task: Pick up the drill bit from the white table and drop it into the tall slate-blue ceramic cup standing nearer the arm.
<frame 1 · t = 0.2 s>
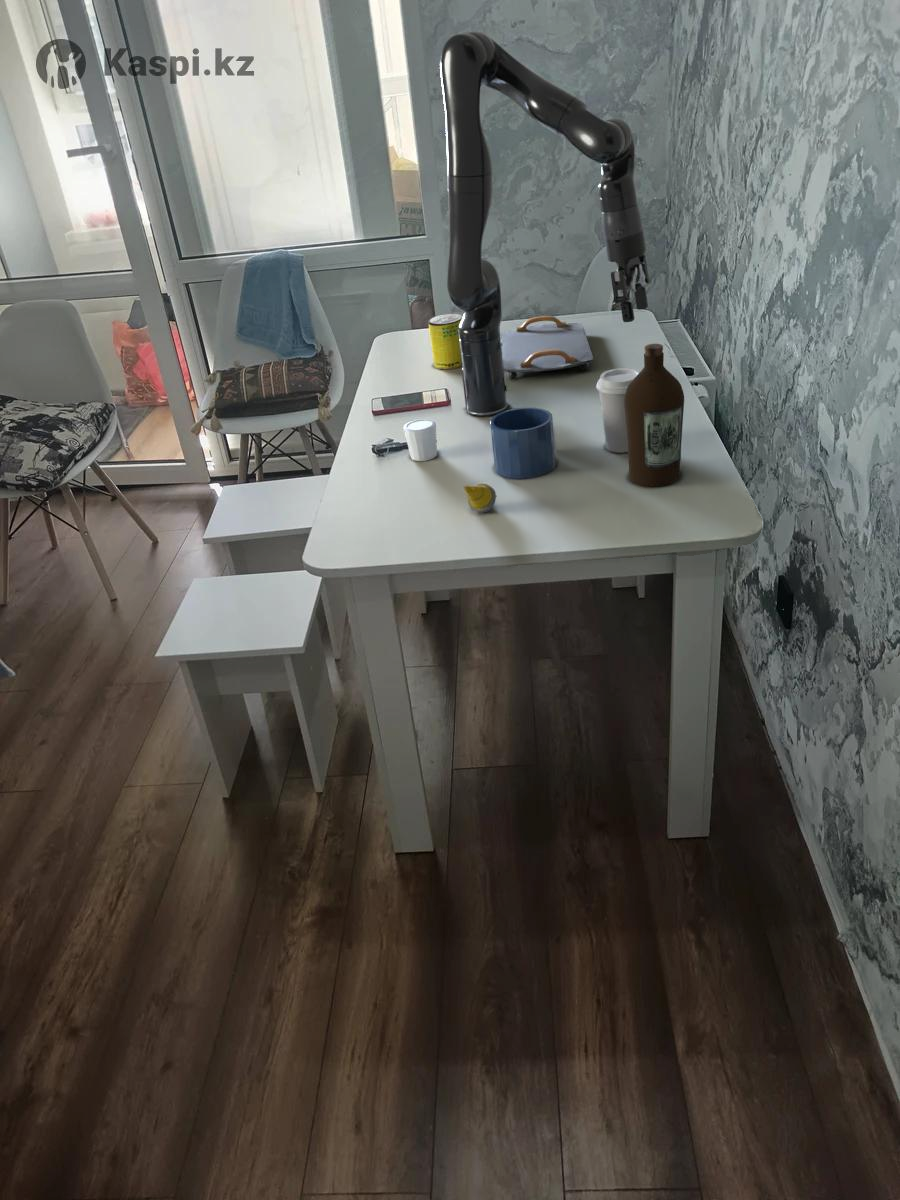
hand: (635, 315, 185), 22 cm above the table, tool pointing down, fingers open, 8 cm apart
cup: (525, 465, 184), on the table
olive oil: (654, 477, 172), on the table
drill bit: (482, 512, 169), on the table
serving tray: (545, 356, 241), on the table
white cylinder: (424, 456, 195), on the table
coffee cup: (622, 447, 186), on the table
yellow can: (450, 364, 246), on the table
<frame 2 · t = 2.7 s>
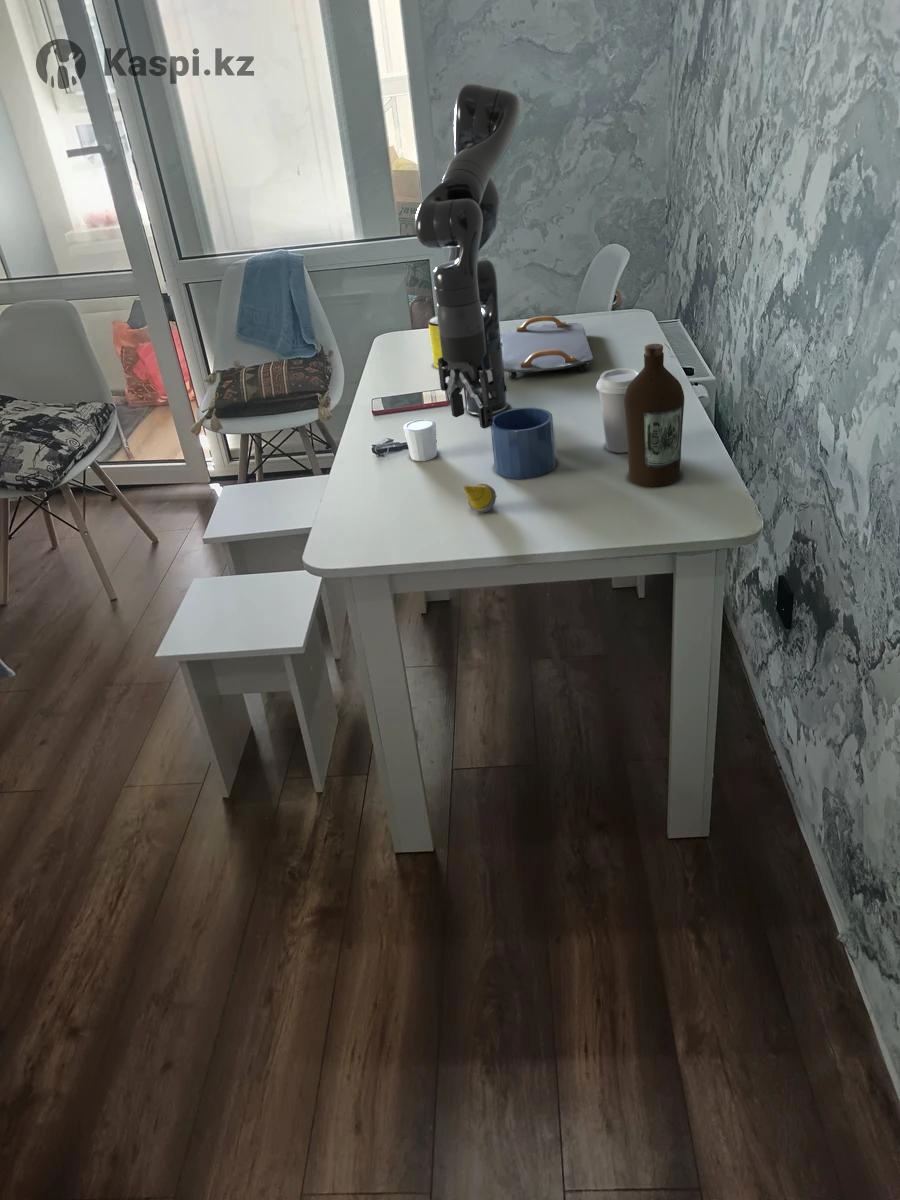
hand: (472, 421, 159), 18 cm above the table, tool pointing down, fingers open, 8 cm apart
nothing on the table moved.
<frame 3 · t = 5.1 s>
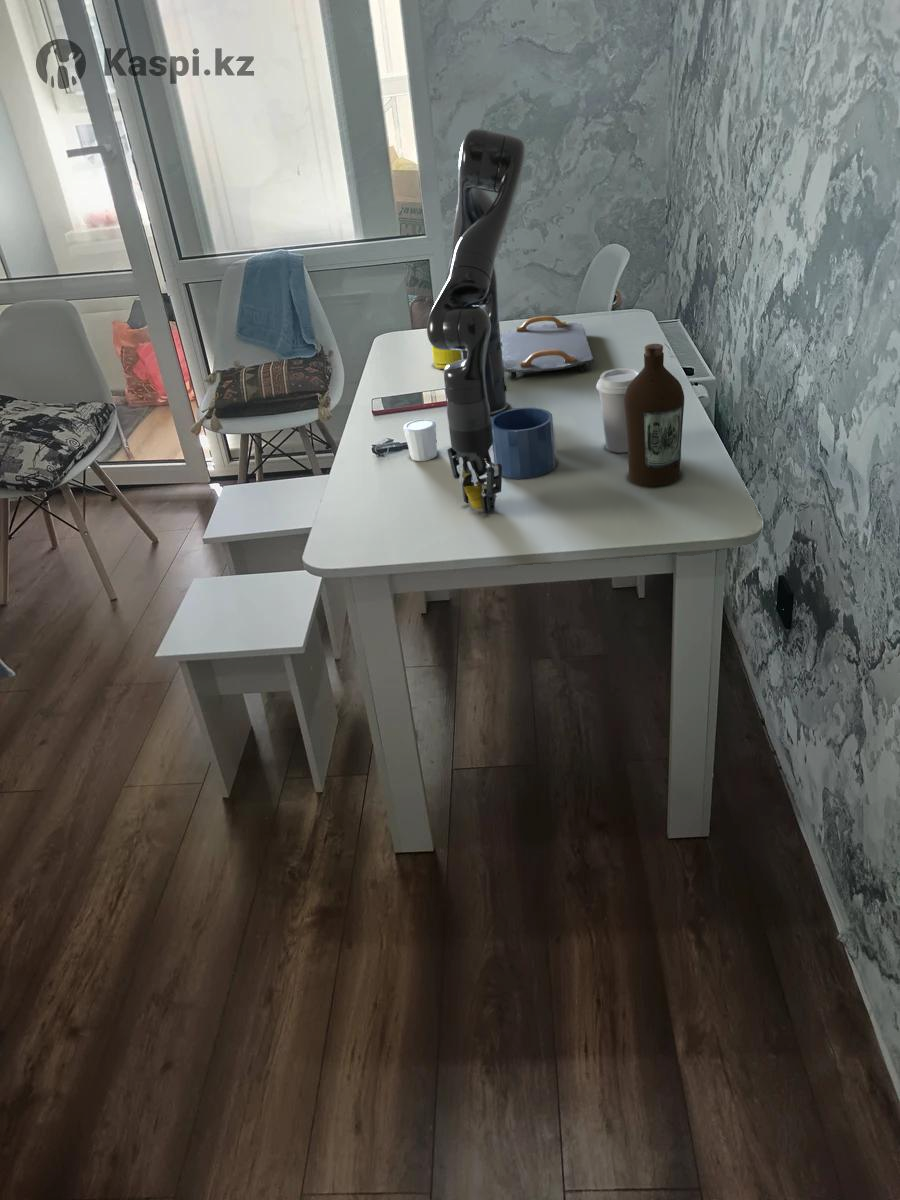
hand: (479, 506, 169), 1 cm above the table, tool pointing down, fingers closed on drill bit, 5 cm apart
drill bit: (482, 512, 169), on the table, touching gripper
everything else where it was.
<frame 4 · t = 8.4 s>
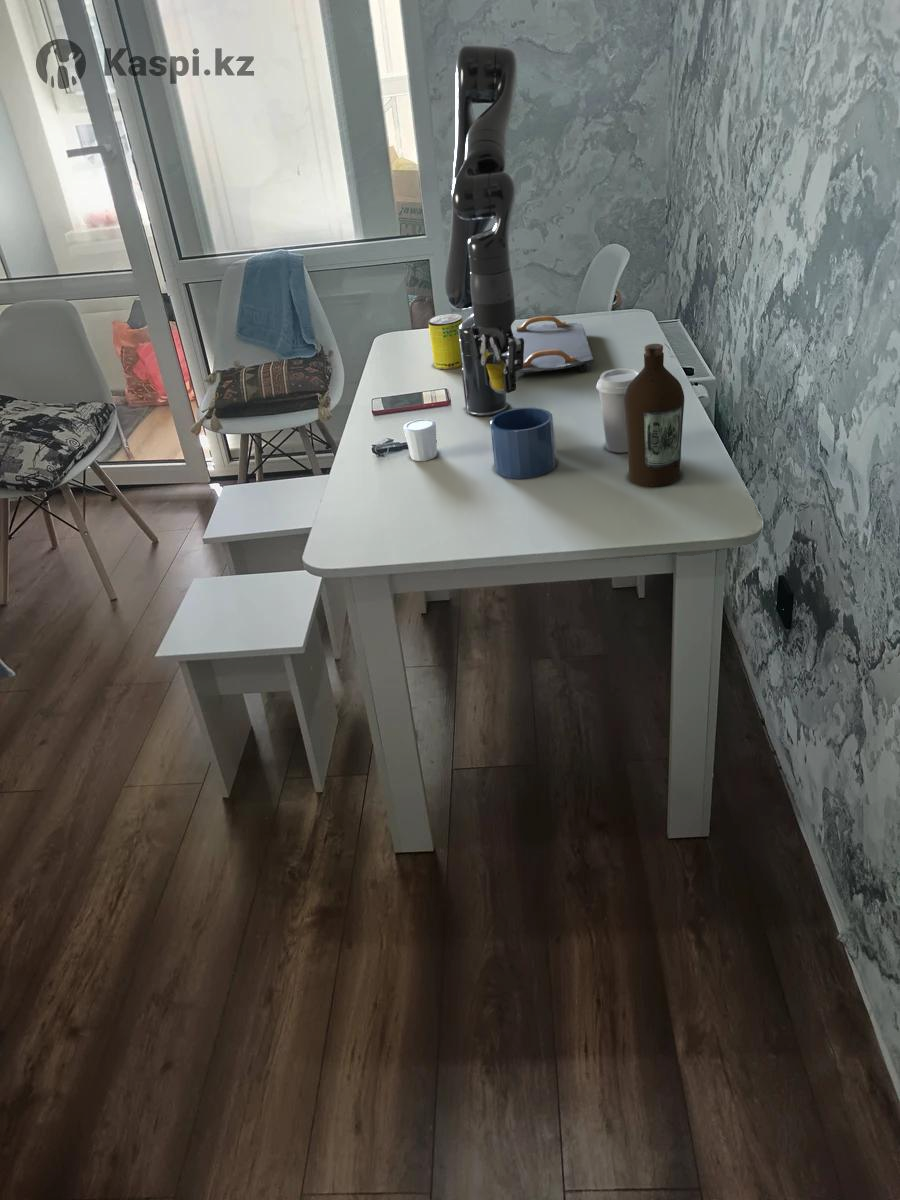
hand: (500, 387, 170), 19 cm above the table, tool pointing down, fingers closed on drill bit, 5 cm apart
drill bit: (503, 393, 170), point 18 cm above the table, touching gripper
everything else where it was.
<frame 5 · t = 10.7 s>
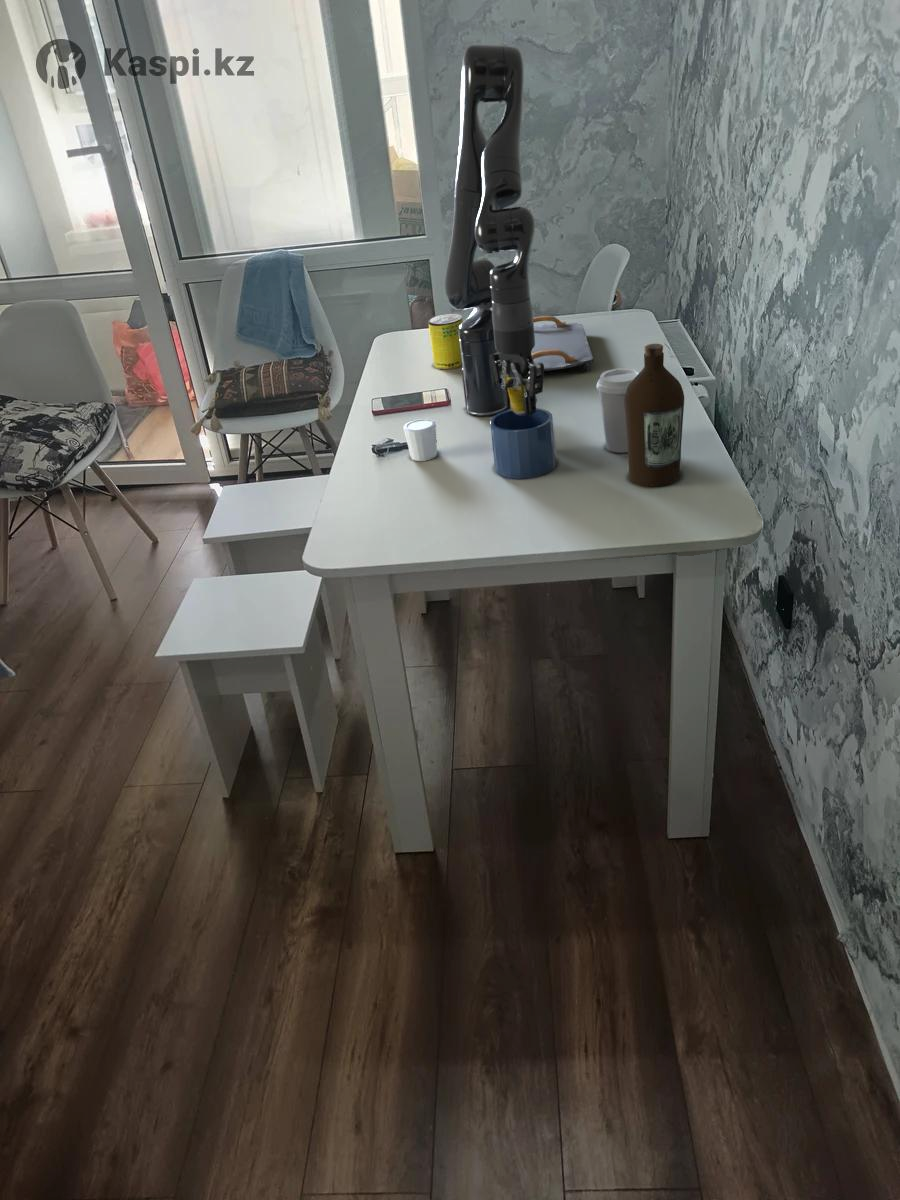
hand: (520, 409, 178), 12 cm above the table, tool pointing down, fingers closed on drill bit, 5 cm apart
drill bit: (523, 416, 178), point 11 cm above the table, touching gripper
everything else where it was.
when the fingers open (8 cm above the table, at t = 12.2 s): drill bit drops 7 cm, resting on cup.
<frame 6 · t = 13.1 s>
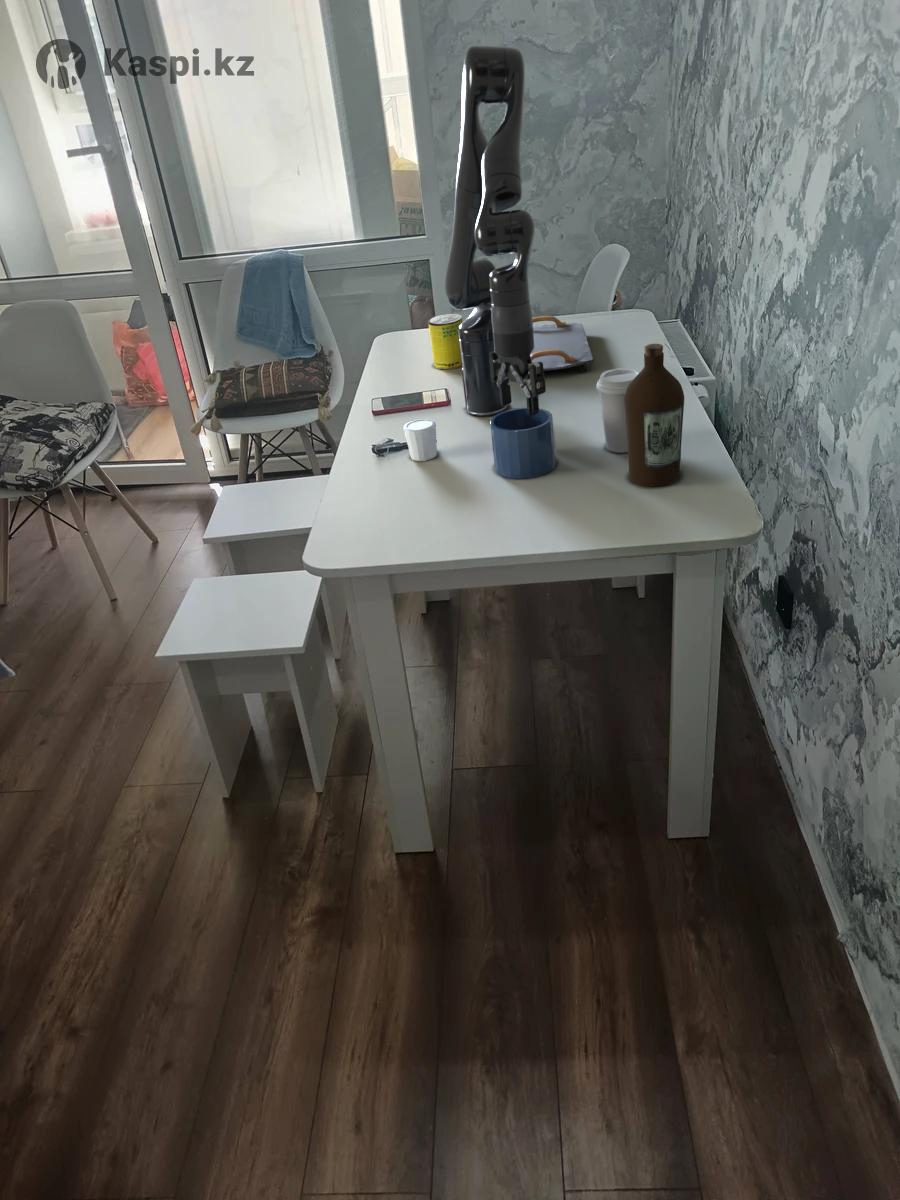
hand: (519, 409, 177), 12 cm above the table, tool pointing down, fingers open, 8 cm apart
drill bit: (527, 462, 183), point 1 cm above the table, touching cup
everything else where it was.
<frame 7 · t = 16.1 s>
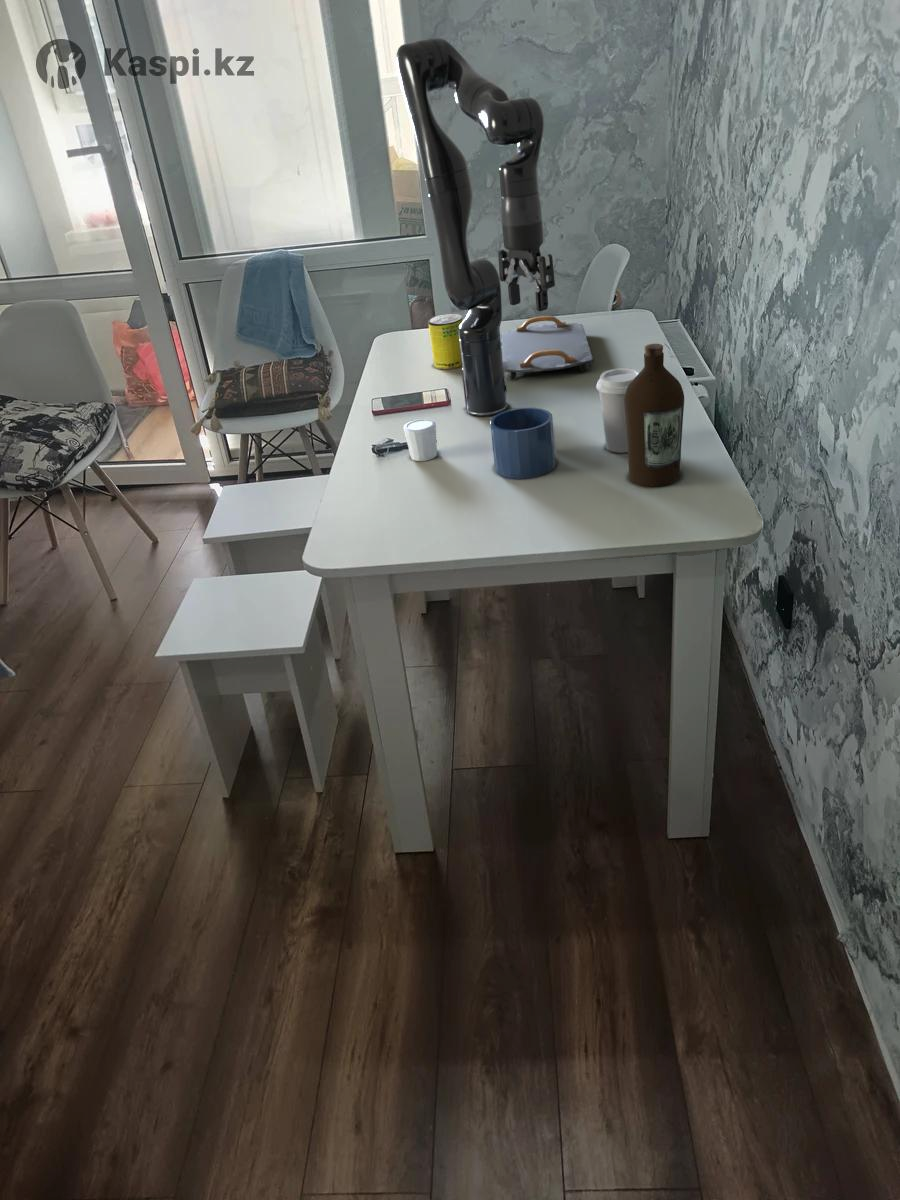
hand: (528, 307, 179), 28 cm above the table, tool pointing down, fingers open, 8 cm apart
nothing on the table moved.
at the end: drill bit inside the target area in the cup (0.4 cm from its centre), point 0.6 cm above the cup's base; the gripper is holding nothing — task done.
